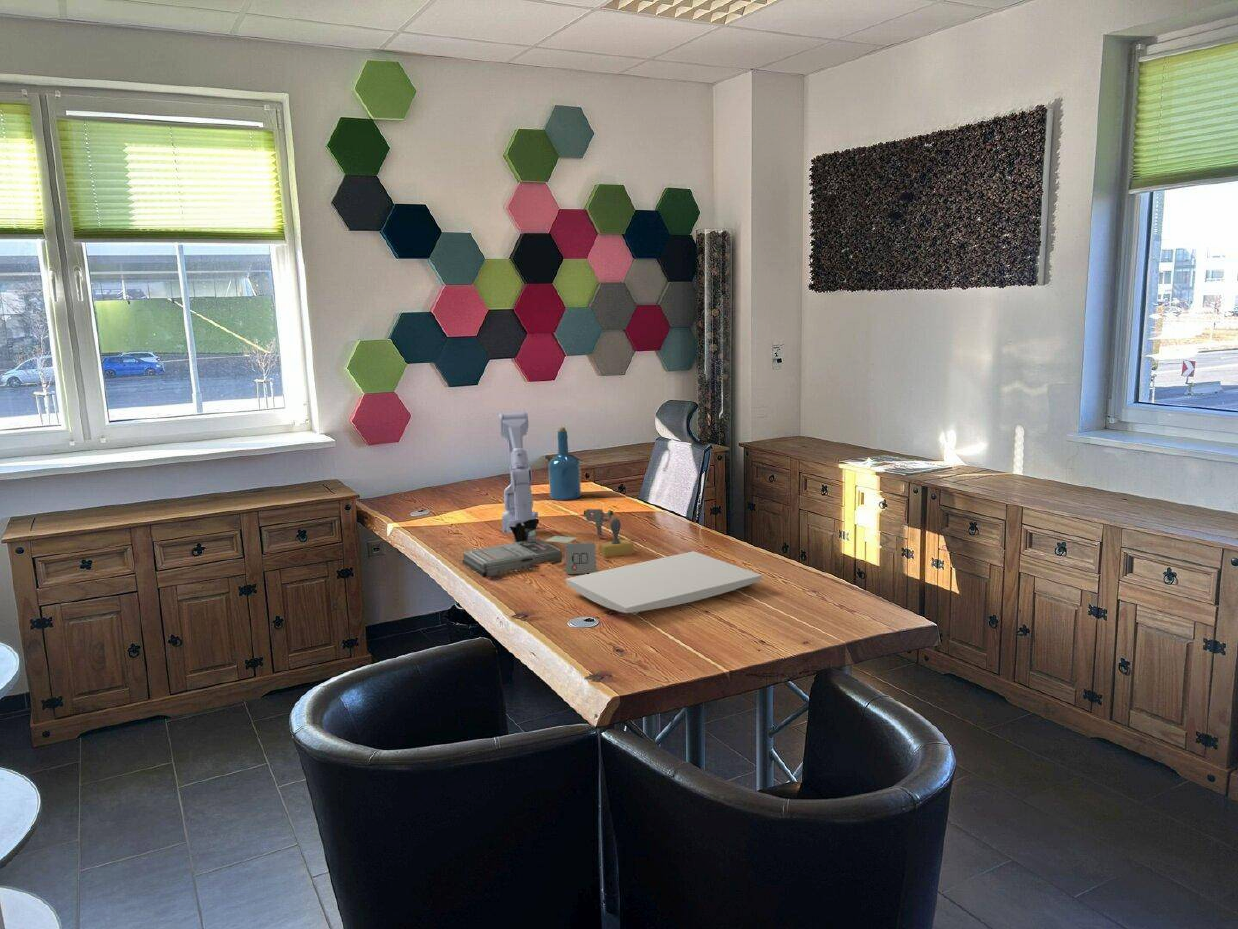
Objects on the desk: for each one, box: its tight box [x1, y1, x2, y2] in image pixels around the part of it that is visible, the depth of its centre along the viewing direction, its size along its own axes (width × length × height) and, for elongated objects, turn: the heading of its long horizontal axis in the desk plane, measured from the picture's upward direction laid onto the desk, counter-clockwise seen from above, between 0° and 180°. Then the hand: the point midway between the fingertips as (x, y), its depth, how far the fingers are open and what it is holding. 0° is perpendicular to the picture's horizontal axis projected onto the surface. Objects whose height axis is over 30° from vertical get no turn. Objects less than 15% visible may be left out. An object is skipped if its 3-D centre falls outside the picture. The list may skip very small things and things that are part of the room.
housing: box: [513, 529, 537, 543], centre depth 311 cm, size 6×4×5 cm, turn 63°
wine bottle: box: [548, 426, 582, 501], centre depth 389 cm, size 14×13×30 cm
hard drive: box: [462, 538, 563, 578], centre depth 295 cm, size 18×27×4 cm
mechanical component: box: [583, 508, 614, 536], centre depth 322 cm, size 3×10×10 cm, turn 79°
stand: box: [544, 535, 578, 544], centre depth 317 cm, size 9×7×2 cm
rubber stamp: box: [598, 517, 634, 558], centre depth 301 cm, size 10×6×12 cm, turn 109°
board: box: [565, 550, 763, 616], centre depth 260 cm, size 45×32×5 cm
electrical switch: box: [564, 542, 597, 575], centre depth 282 cm, size 9×5×9 cm, turn 90°
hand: (525, 542), depth 312 cm, fingers open, 6 cm apart
